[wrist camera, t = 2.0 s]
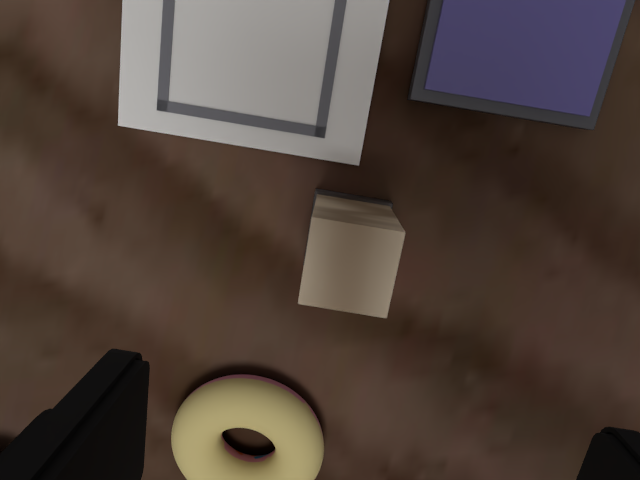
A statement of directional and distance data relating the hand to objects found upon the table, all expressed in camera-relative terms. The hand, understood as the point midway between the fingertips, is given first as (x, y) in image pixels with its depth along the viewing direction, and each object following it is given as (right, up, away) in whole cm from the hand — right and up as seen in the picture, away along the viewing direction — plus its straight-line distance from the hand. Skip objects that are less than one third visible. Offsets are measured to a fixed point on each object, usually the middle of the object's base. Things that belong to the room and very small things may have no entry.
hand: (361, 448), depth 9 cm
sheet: (-5, +16, +15) cm, 22 cm away
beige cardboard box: (+1, +5, +18) cm, 18 cm away
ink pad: (+10, +15, +14) cm, 23 cm away
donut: (-6, -9, +22) cm, 24 cm away
